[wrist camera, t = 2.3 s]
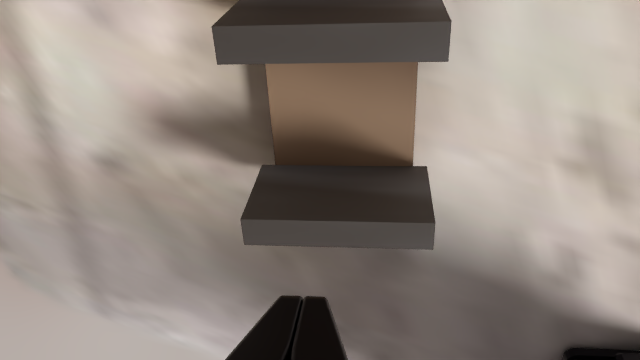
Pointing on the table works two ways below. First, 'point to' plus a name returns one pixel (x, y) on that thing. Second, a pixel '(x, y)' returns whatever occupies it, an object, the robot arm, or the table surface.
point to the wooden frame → (339, 118)
